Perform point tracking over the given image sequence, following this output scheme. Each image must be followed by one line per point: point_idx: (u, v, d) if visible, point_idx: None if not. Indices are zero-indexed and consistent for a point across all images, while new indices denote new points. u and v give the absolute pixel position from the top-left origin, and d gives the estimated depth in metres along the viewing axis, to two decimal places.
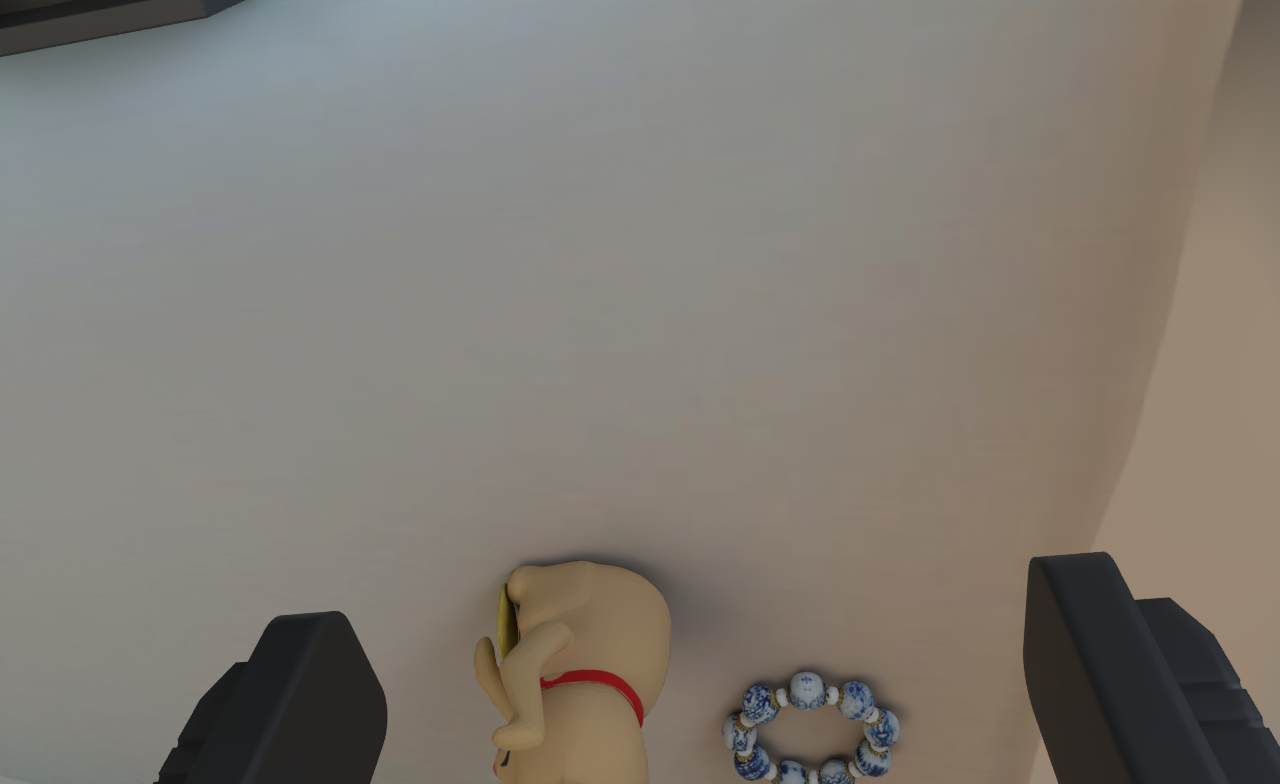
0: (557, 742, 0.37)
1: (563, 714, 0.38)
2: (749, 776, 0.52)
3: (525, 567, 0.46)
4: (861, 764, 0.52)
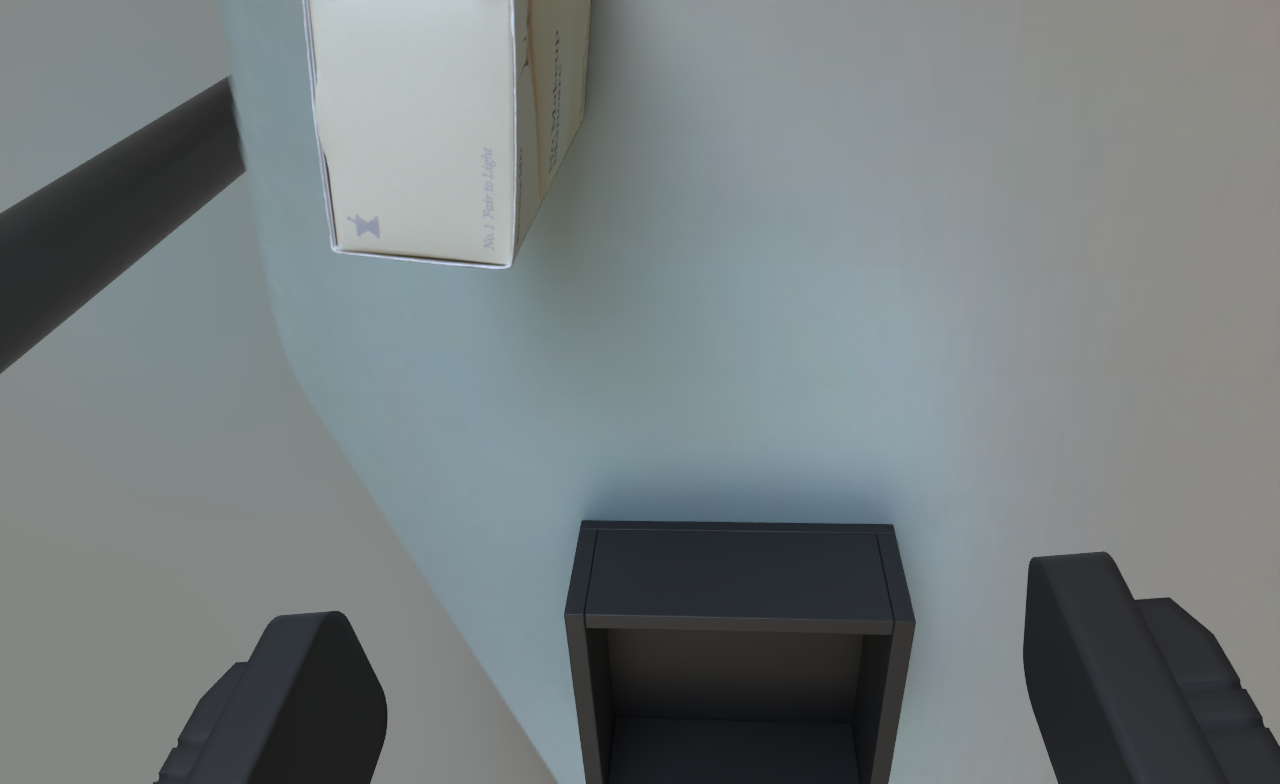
0: None
1: None
2: None
3: None
4: None
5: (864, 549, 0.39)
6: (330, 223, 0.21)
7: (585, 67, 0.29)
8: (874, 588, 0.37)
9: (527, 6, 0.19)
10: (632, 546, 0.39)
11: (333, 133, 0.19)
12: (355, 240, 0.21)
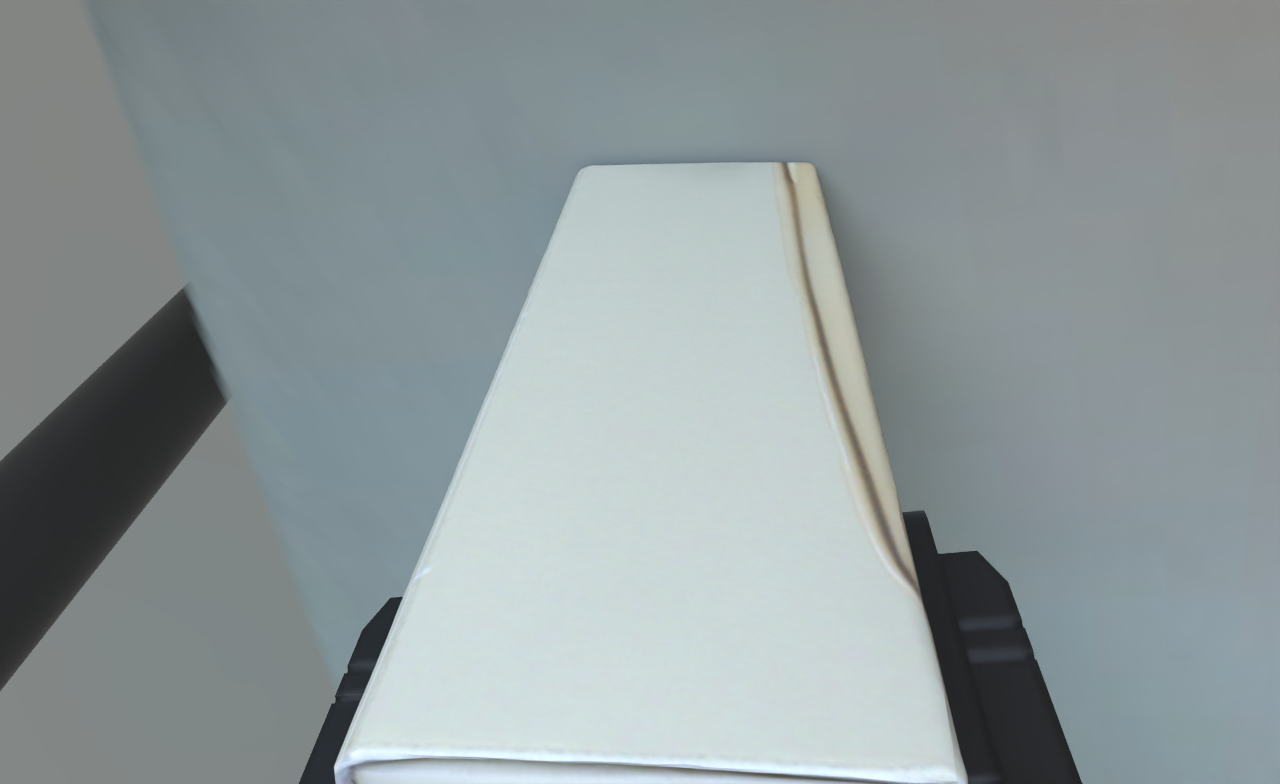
0: None
1: None
2: None
3: None
4: None
5: None
6: None
7: None
8: None
9: None
10: None
11: None
12: None
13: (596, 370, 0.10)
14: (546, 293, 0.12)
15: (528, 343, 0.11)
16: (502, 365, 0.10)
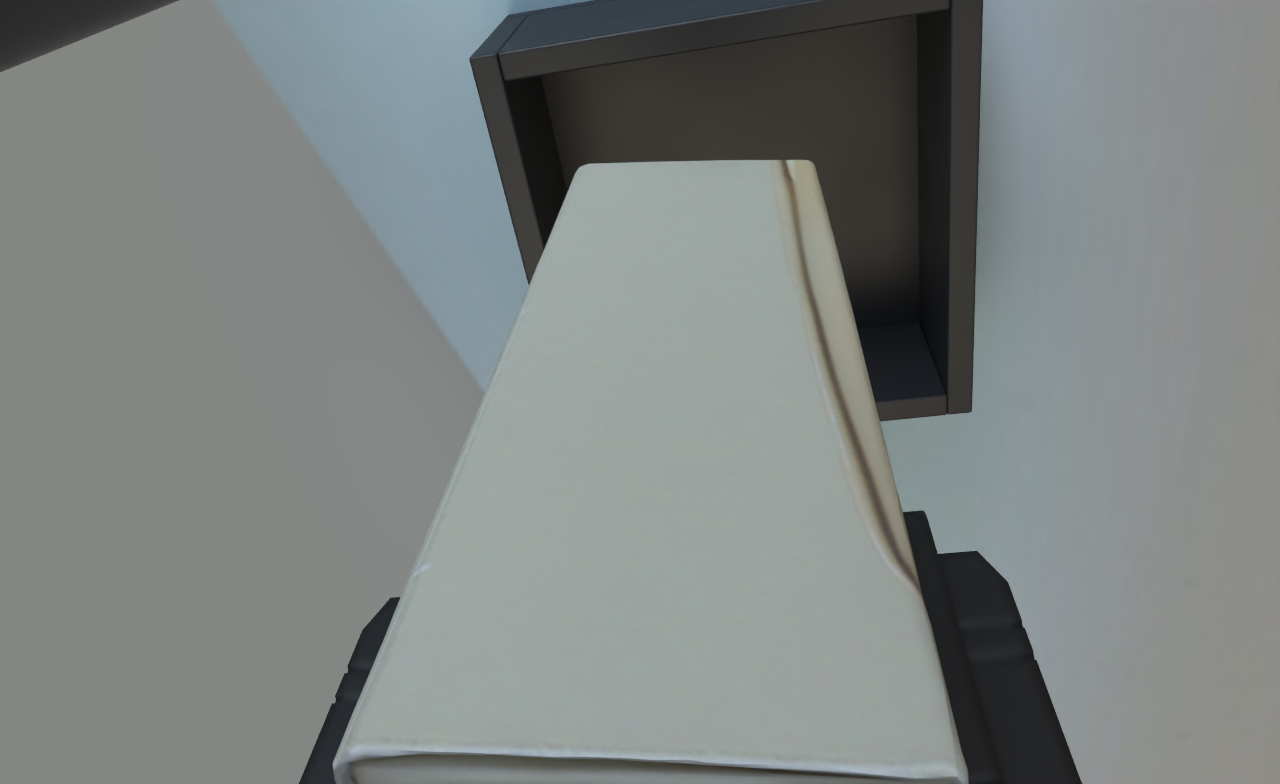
0: None
1: None
2: None
3: None
4: None
5: None
6: None
7: None
8: None
9: None
10: (572, 13, 0.28)
11: None
12: None
13: (596, 367, 0.10)
14: (545, 290, 0.12)
15: (527, 340, 0.11)
16: (501, 362, 0.10)
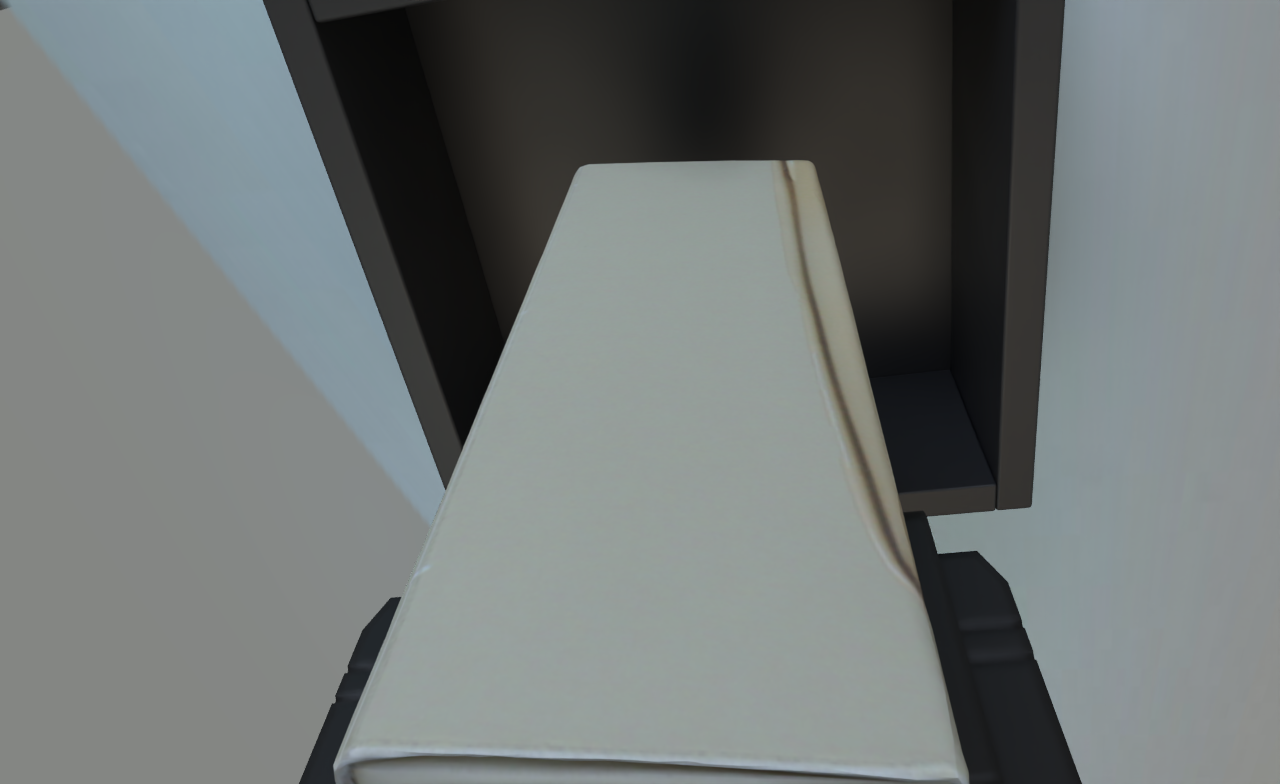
0: None
1: None
2: None
3: None
4: None
5: None
6: None
7: None
8: None
9: None
10: None
11: None
12: None
13: (595, 368, 0.10)
14: (545, 291, 0.12)
15: (527, 341, 0.11)
16: (501, 363, 0.10)
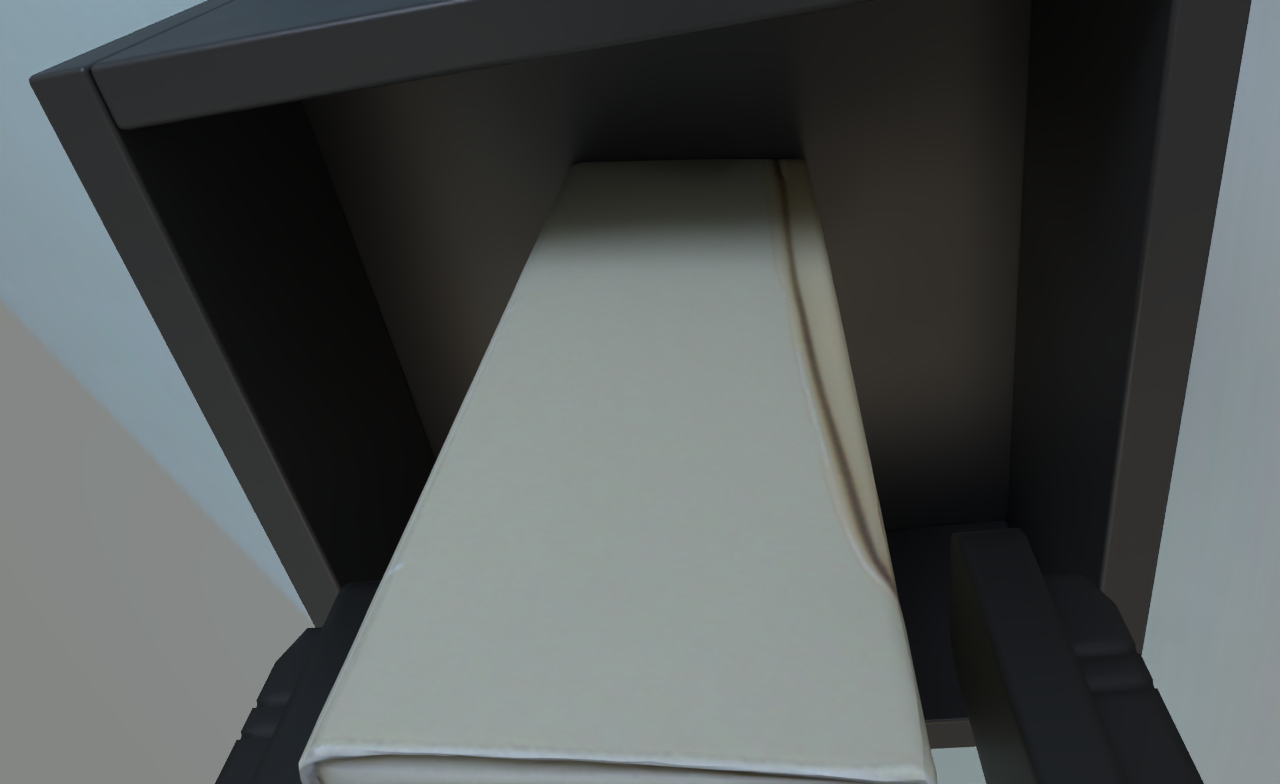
0: None
1: None
2: None
3: None
4: None
5: None
6: None
7: None
8: None
9: None
10: None
11: None
12: None
13: (578, 366, 0.10)
14: (531, 289, 0.12)
15: (511, 339, 0.11)
16: (484, 361, 0.10)
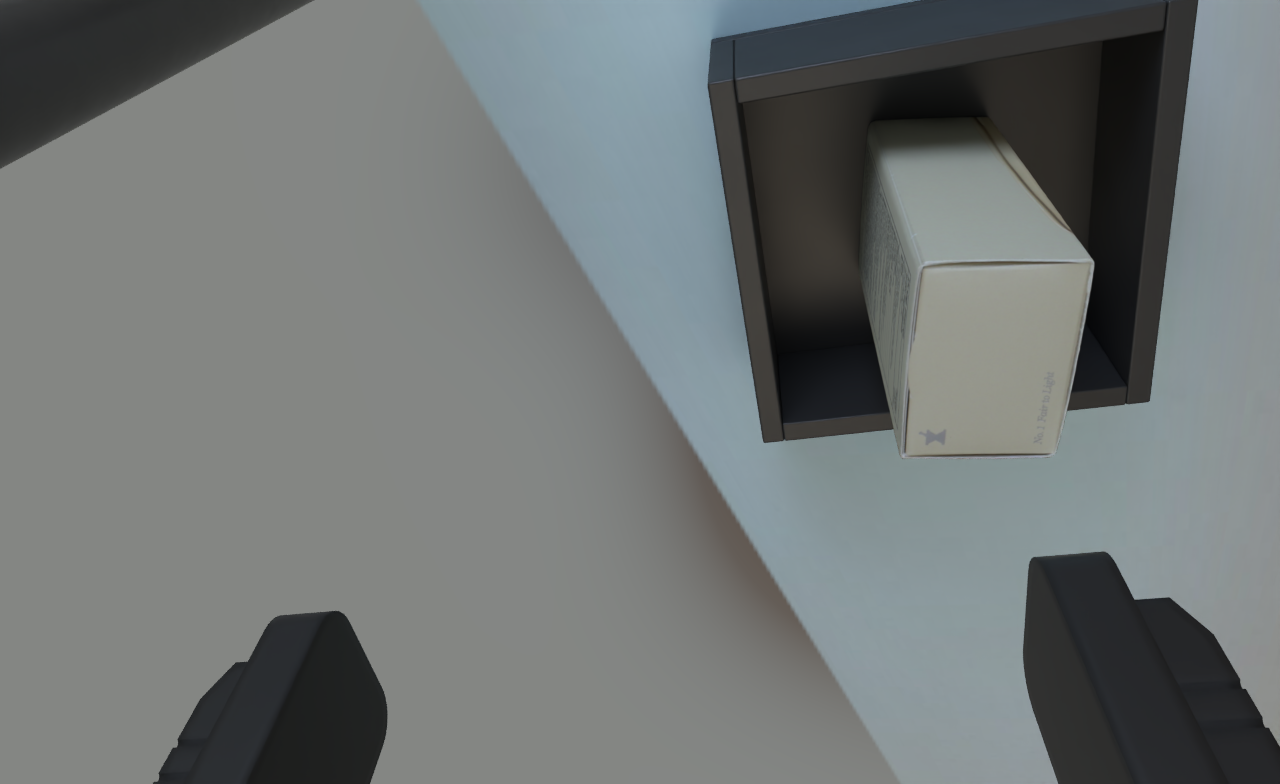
0: None
1: None
2: None
3: None
4: None
5: None
6: (903, 437, 0.26)
7: None
8: None
9: None
10: (782, 37, 0.30)
11: (920, 374, 0.24)
12: (922, 448, 0.26)
13: (936, 189, 0.27)
14: (896, 168, 0.28)
15: (902, 183, 0.27)
16: (896, 189, 0.27)
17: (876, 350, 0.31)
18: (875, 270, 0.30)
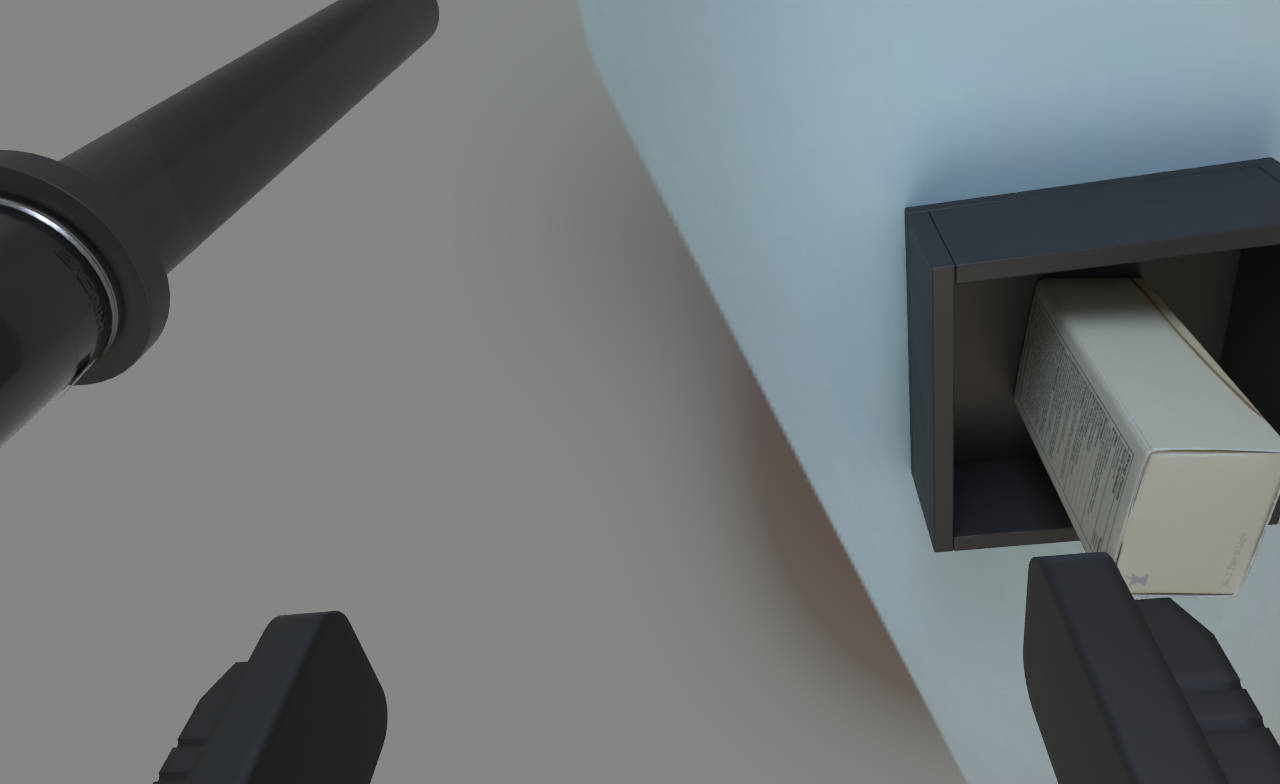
0: None
1: None
2: None
3: None
4: None
5: (1252, 177, 0.34)
6: None
7: None
8: None
9: None
10: (976, 215, 0.35)
11: (1134, 532, 0.29)
12: None
13: (1131, 365, 0.32)
14: (1085, 338, 0.33)
15: (1098, 356, 0.32)
16: (1095, 363, 0.32)
17: (1054, 484, 0.36)
18: (1054, 416, 0.35)
